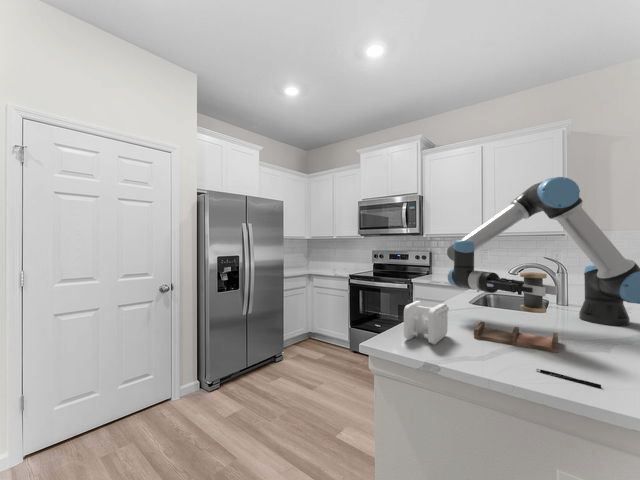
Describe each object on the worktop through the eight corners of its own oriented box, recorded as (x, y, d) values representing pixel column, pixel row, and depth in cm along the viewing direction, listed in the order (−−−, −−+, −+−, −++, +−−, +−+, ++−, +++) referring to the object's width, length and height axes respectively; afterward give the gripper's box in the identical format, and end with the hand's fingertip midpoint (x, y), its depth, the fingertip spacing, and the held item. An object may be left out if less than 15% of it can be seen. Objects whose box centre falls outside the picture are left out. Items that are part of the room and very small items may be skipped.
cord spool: (546, 309, 99) (546, 273, 99) (546, 314, 94) (546, 275, 94) (521, 306, 104) (521, 271, 104) (519, 310, 98) (519, 273, 98)
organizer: (419, 330, 113) (419, 299, 113) (449, 336, 107) (449, 302, 107) (403, 341, 102) (402, 306, 102) (435, 348, 95) (435, 310, 95)
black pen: (536, 372, 78) (536, 368, 78) (537, 371, 78) (537, 367, 78) (600, 390, 69) (600, 385, 69) (601, 388, 69) (601, 384, 69)
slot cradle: (557, 342, 100) (557, 332, 100) (557, 352, 90) (557, 342, 90) (481, 329, 114) (481, 321, 114) (474, 338, 104) (473, 329, 104)
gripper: (501, 290, 119) (568, 301, 97) (466, 293, 112) (531, 305, 90) (501, 270, 119) (568, 277, 97) (466, 272, 112) (531, 280, 90)
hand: (550, 291), depth 94 cm, fingers closed on cord spool, 5 cm apart
